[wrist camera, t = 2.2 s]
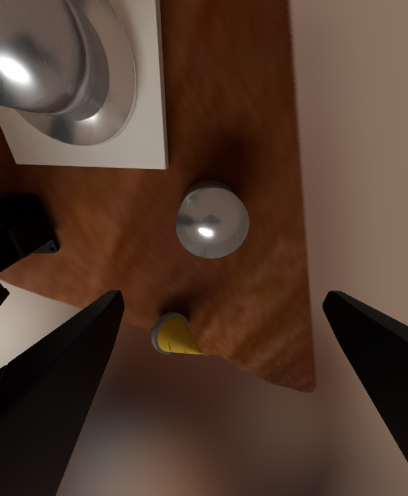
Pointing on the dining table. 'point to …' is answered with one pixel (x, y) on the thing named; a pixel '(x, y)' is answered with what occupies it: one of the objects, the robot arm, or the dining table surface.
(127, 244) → the dining table surface
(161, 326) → the yellow spiral cone
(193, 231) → the silver flared knob
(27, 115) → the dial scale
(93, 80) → the silver round piece
